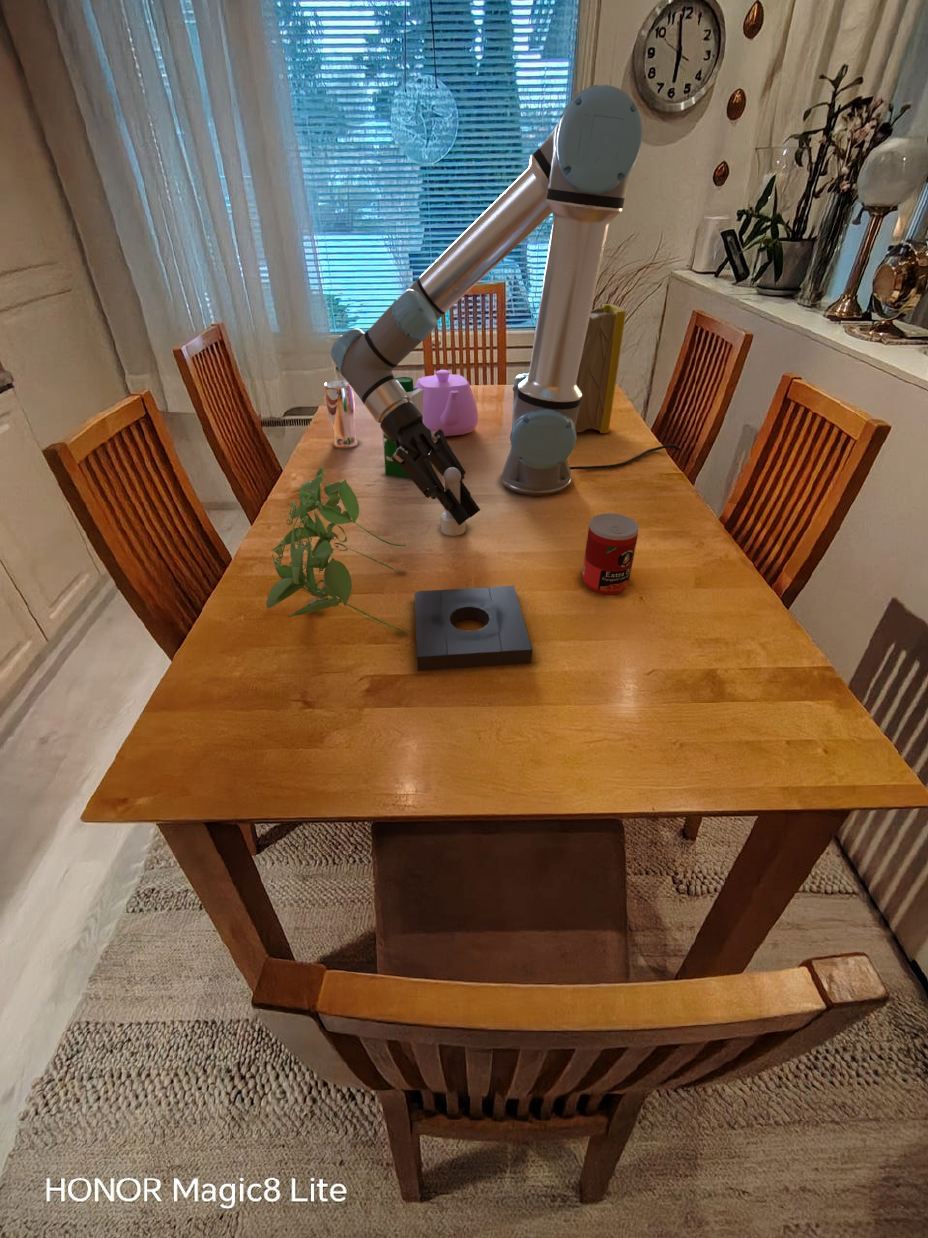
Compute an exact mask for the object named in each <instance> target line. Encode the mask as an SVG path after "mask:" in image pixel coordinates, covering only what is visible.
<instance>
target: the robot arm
mask: <svg viewBox="0 0 928 1238" xmlns="http://www.w3.org/2000/svg"><path fill="white" fill-rule="evenodd" d="M642 144H643V124H642V118H641V114H640V112H639V109H638V107H637V105H636V103H635V102H634V100H633V98H632V97H630V95H629V94H628V93H627V92H626V91H624V90H622V89H621V88H619V87H616V86H613V85H609V84H602V85H601V84H600V85H598V84H595V85H592V86H588V87H587V88H584V89H583V90H581V91H579V92H578V93H577V94H575V95H574V97H573V98H572V99H571V100H569V102H568V104H567V105H566V106H565V108H564V109H563V111H562V113H561V115H560V118H559V119H558V122H557V123H556V125H555V127H554V128H553V130H552V131H551V132H550V134H549V135H548V136H547V138H546V139H545V140H544V141H543V142H542V144H541V145H540V146H539V147H538V148H537V149H536V150H535V151H534V152H533V153H532V154H531V155H530V158H529V163H528V168H527V169H526V170H525V171H524V172H523V173H522V174H520V175H519V176H518V177H517V179H516V180H515V181H514V182H513V183H512V184H511V185H510V186H508V188H507V189H506V190H505V191H503V193H502V194H500V195H499V197H498V198H497V199H496V200H495V201H494V202H493V203H492V204H490V206H489V207H488V208H487V209H486V210H485V211H484V212H482V214H481V215H480V216H479V217H478V218H477V219H475V221H474V222H473V223H472V224H471V225H470V226H469V227H468V228H466V230H465V231H464V232H463V233H462V234H461V235H460V236H459V237H458V238H457V239H456V240H454V242H453V243H452V244H451V245H450V246H449V247H448V248H447V249H446V250H445V251H444V252H443V253H442V254H441V255H440V256H439V257H438V258H437V259H436V260H435V261H434V262H433V263H432V264H431V265H430V266H429V267H428V268H427V269H426V270H425V271H424V272H423V273H422V274H421V275H420V276H419V278H417V279H416V280H415V281H414V282H413V283H412V284H411V285H410V286H409V287H408V288H407V289H406V290H405V291H403V292H402V293H401V294H400V296H397V298H396V299H394V301H393V302H392V304H391V305H390V306H389V307H388V308H387V309H386V310H385V311H384V312H383V313H382V314H381V316H380V317H379V318H378V319H377V320H376V321H375V322H374V323H373V324H372V325H371V326H370V328H369V329H367V330H366V331H365V332H364V331H363V329H360V328H357V327H355V328H350V329H349V330H347V331H345V332H344V334H342V335H340V336H338V337H337V339H336V340H335V341H334V342H333V344H332V346H331V349H330V357H331V359H332V361H333V363H334V364H335V366H336V368H338V370H339V371H340V374H341V376H342V377H343V378H344V380H347V382H348V383H349V384H350V386H351V387H352V389H353V392H355V394H356V396H357V397H358V398H359V399H360V400H361V403H363V405H364V406H365V408H366V409H367V410H368V412H369V413H370V415H371V416H372V417H373V419H374V420H375V422H376V423H378V424H380V427H379V428H380V429H381V430H383V432H384V433H385V434H386V436H387V437H388V439H389V440H390V441H392V442H395V444H396V447H397V450H396V452H395V453H394V454H393V455H392V457H391V459H392V460H393V461H394V462H395V463H397V464H398V465H399V466H401V468H402V469H403V470H404V471H405V472H406V474H407V475H408V476H409V477H410V479H409V480H411V481H412V483H413V484H414V485H415V486H416V488H418V490H419V491H420V492H421V494H422V495H423V496H424V497H425V498H427V499H429V498H431V499H432V500H436V499H437V500H438V502H439V503H440V504H441V506H442V507H443V508H444V510H445V511H446V510H447V511H449V512H450V514H451V515H452V516H453V518H454V519H455V521H456V522H457V523H458V525H461V524H462V523H463V522H465V521H466V522H467V520H469V519H470V518H473V517H474V516H475V515H477V514H478V513H479V512H481V508H480V507H479V505H478V504H477V503H476V501H475V500H474V498H473V497H472V494H471V492H470V490H469V489H468V487H467V486H466V485H465V483H464V482H463V480H464V479H465V475H466V473H467V472H466V470H465V469H464V467H463V466H462V464H461V461H460V460H459V459H458V457H457V456H456V454H455V453H454V451H453V449H452V447H451V446H450V444H449V443H448V441H447V439H446V436H444V433H443V431H442V430H441V429H439V430H438V431H437V432H433V431H430V429H429V428H428V427H426V426H425V425H424V424H423V416H422V414H421V413H420V411H419V410H418V409H417V407H416V406H415V404H414V403H413V402H411V401H409V399H410V397H409V395H408V394H407V393H406V391H405V390H404V388H403V387H402V386H401V384H400V383H399V382H398V380H397V379H396V378H397V377H396V375H394V373H393V370H394V369H395V368H397V366H398V365H399V364H400V363H401V362H402V361H403V360H404V359H405V358H406V357H407V356H409V354H410V353H411V352H413V351H414V350H415V349H416V348H417V346H419V345H420V344H421V343H422V342H423V341H425V340H427V338H428V336H429V335H430V334H431V333H432V332H433V330H435V328H436V327H437V326H438V321H439V320H440V318H442V317H443V316H445V315H444V314H446V313H447V312H448V311H449V310H450V309H451V308H452V307H453V306H454V305H455V304H457V303H458V301H460V300H461V299H462V298H463V297H464V296H465V295H466V294H467V293H468V292H469V291H470V290H472V288H474V286H476V285H477V284H478V283H479V282H481V280H482V279H483V278H484V277H485V276H487V274H488V273H489V272H491V271H492V270H493V269H494V268H495V267H496V266H497V265H499V263H500V262H501V261H503V259H505V258H506V257H507V256H508V255H509V254H511V252H512V251H513V250H514V249H516V248H517V246H518V245H519V244H520V243H522V242H523V241H524V240H525V239H526V238H527V237H528V236H529V235H530V234H531V233H532V232H533V231H535V230H536V229H537V228H538V227H539V226H540V225H541V224H542V223H543V222H544V221H546V220H547V218H549V216H551V215H553V219H552V226H551V232H550V236H549V237H550V238H549V243H548V251H547V257H546V263H545V269H544V276H543V281H542V282H543V283H542V289H541V295H540V301H539V303H540V306H538V307H539V308H538V313H537V318H536V319H537V320H536V325H535V331H534V338H533V343H532V344H533V345H532V350H531V351H532V352H531V356H530V357H531V358H530V364H529V370H528V372H523V373H520V374H517V375H516V376H515V378H514V380H513V381H514V382H513V387H512V391H513V395H512V396H513V399H512V417H511V418H512V419H511V420H512V421H511V431H510V435H509V442H510V445H511V446H510V450H509V452H508V455H507V458H506V461H505V463H504V466H503V469H502V472H501V473H502V474H501V484H502V485H503V486H504V488H506V489H507V490H509V491H511V492H513V493H515V494H519V495H522V496H530V497H547V496H548V497H549V496H553V495H558V494H560V493H563V492H565V491H567V489H569V488H570V486H571V483H572V470H574V471H575V470H598V469H600V470H601V469H612V468H619V467H622V466H626V465H628V464H630V463H632V462H634V461H637V460H639V459H641V458H642V457H644V456H645V455H647V454H649V453H652V452H656V451H659V450H663V449H669V448H672V449H675V450H676V451H679V452H680V451H682V449H681V448H680V447H679V446H678V445H676V444H664V445H659V446H656V447H653V448H649V449H647V450H645V451H643V452H641V453H640V454H638V455H635V456H634V457H632V458H630V459H628V460H625V461H623V462H618V463H613V464H603V465H577V466H576V465H573V466H570V464H569V458H570V456H571V455H572V453H573V452H574V449H575V446H576V443H577V440H578V439H577V438H578V437H577V432H576V429H575V426H576V421H577V417H578V412H579V407H580V403H581V398H582V392H581V391H580V389H579V388H578V386H577V384H576V380H577V376H578V371H579V366H580V361H581V356H582V352H583V347H584V342H585V337H586V332H587V328H588V323H589V318H590V313H591V310H592V308H593V303H594V298H595V294H596V289H597V283H598V280H599V275H600V274H599V273H600V271H601V265H602V260H603V256H604V250H605V245H606V240H607V237H608V236H607V235H608V231H609V227H610V223H611V222H612V221H613V220H614V219H615V218H616V217H617V216H618V215H620V214H621V213H622V212H623V208H624V204H625V200H626V196H627V195H626V194H627V190H628V186H629V181H630V176H631V173H632V172H633V170H634V168H635V166H636V164H637V160H638V159H639V156H640V153H641V149H642ZM451 467H454V468H457V469H458V470H459V471H460V473H461V480H460V503H459V502H458V500H457V499H456V497H455V496H454V495H453V493H452V492H451V490H450V489H447V490H446V491H445V485H444V484H443V483H442V480H441V479H440V477H439V475H441V476H442V477H443V478H444V472H445V471H446V470H447V469H448V468H451ZM435 469H436V470H437V472H438V473H439V475H438V473H437V472H436V470H435Z"/></svg>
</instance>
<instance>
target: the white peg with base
mask: <svg viewBox="0 0 928 1238" xmlns="http://www.w3.org/2000/svg"><path fill="white" fill-rule="evenodd" d="M443 480H444V488H445V491H446V490H447V489H450V490H451V492H452V493H453V495H454V496H455V497H456V499H457V500H458V502H459V503H460V480H461V473H460V471H459V470H458V469H457V468H454V467H451V468H448V469H447V470H446V471H445V472H444V477H443ZM466 530H467V520H466V521H465V522H463V523H462V524H461V525H458V523H457V522H456V521H455V519H454V518H453V516H452V515H451V514H450V512H449V511H447V510H446V509H445V511H444V512H442V513H441V515H440V531H441V533H442V534H444V535H446V536H451V537H452V536H454V537H455V536H460V535H462V534H464V533H465V532H466Z"/></svg>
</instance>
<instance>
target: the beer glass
mask: <svg viewBox="0 0 928 1238" xmlns="http://www.w3.org/2000/svg"><path fill="white" fill-rule="evenodd" d="M323 386H324V399H325V406H326V410H327V415H328V418H329V420H330V424H331V427H332V431H333V446H334V447H335V448H337V449H352V448H354V447H356V446H358V444H359V442H358V437H357V434H356V430H355V429H356V428H355V427H356V426H355V421H356V420H355V419H356V401H355V394H354V390H353V388H352V387H351V386H350V384H349V383H348V382H347V380H346V379H334V380H329V381H326V382H324V384H323Z"/></svg>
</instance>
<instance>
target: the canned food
mask: <svg viewBox="0 0 928 1238" xmlns="http://www.w3.org/2000/svg"><path fill="white" fill-rule="evenodd" d="M639 526H640V525H639V523H638V521H636V520H635V519H633V518H631V517H630V516H628V515H625V514H621V513H614V512H605V513H599V514H596V515H594V516H592V517H591V519H590V520H589V523H588V529H587V537H586V544H585V545H586V546H585V553H584V560H583V567H582V576H581V577H582V581H583V584H584V585H585V586H586V587H587V588H588V589H589V590H591V591H592V592H595V593H597V594H601V595H617V594H619V593H622V592H623V591H625V590H626V589H627V587H628V585H629V583H630V579H631V572H632V568H633V563H634V557H635V553H636V547H637V542H638V536H639V530H640V527H639Z"/></svg>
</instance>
